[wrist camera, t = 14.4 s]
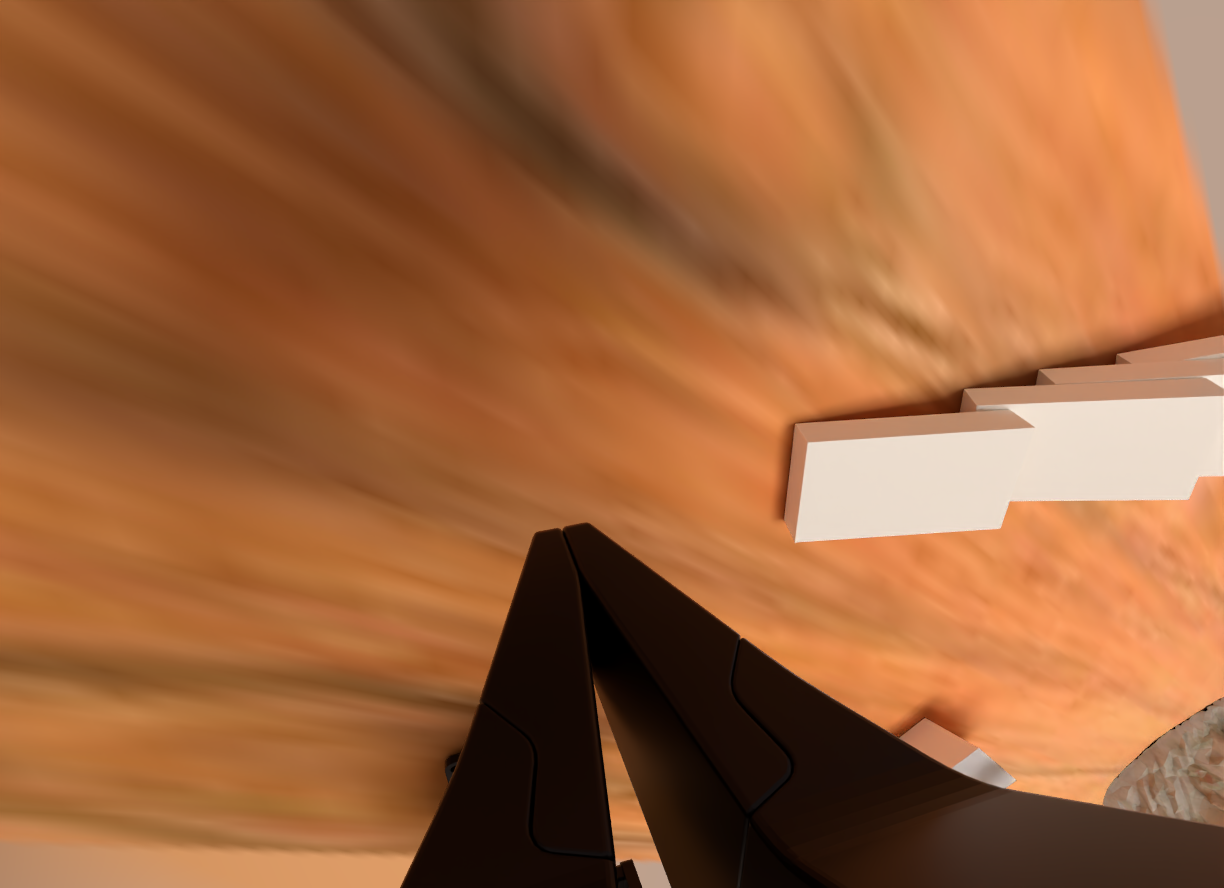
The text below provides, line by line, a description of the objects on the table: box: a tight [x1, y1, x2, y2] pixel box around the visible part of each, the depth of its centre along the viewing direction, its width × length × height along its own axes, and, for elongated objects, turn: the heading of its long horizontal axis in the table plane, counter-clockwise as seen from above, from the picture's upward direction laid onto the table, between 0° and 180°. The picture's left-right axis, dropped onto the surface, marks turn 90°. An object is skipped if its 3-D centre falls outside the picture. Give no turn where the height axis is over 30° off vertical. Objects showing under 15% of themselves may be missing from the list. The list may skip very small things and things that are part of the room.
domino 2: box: [960, 378, 1224, 501], centre depth 26 cm, size 5×2×9 cm
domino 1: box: [784, 410, 1035, 542], centre depth 25 cm, size 5×2×9 cm
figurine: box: [899, 718, 1016, 788], centre depth 34 cm, size 7×9×15 cm
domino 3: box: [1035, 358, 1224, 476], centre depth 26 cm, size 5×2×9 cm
